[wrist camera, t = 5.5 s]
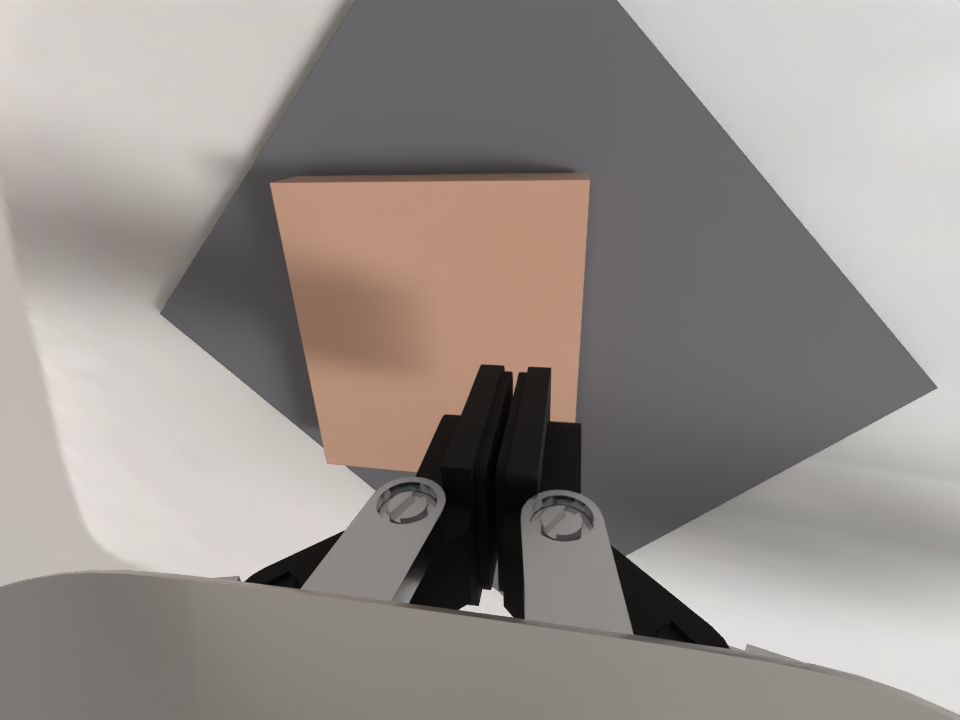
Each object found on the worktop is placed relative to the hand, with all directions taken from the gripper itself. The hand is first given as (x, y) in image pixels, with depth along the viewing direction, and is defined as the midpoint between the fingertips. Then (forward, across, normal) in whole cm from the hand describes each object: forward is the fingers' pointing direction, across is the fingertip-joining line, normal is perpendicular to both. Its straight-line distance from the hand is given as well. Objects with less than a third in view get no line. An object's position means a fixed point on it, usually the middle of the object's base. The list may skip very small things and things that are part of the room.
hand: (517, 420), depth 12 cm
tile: (+4, -1, 0) cm, 5 cm away
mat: (+6, +1, +1) cm, 6 cm away
